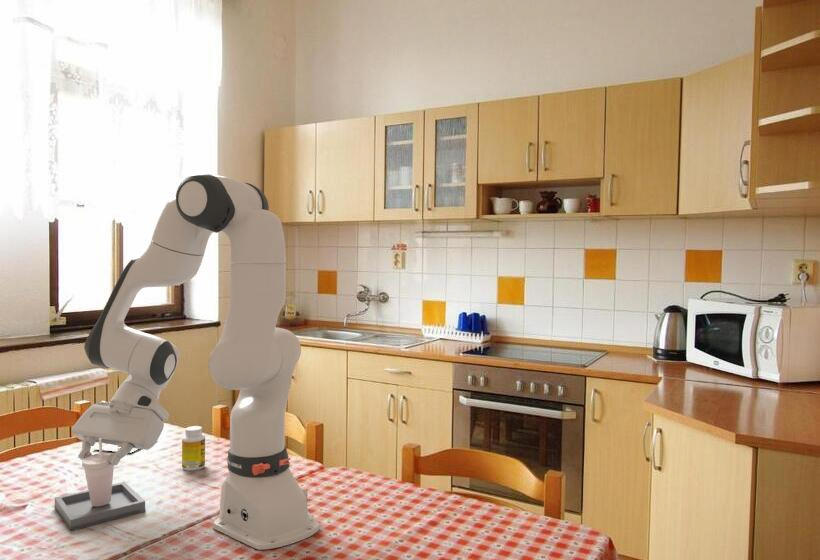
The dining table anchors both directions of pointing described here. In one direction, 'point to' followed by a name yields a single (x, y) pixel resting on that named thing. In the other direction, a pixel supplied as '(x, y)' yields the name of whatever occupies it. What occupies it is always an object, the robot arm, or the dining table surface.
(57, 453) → the dining table surface
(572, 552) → the dining table surface
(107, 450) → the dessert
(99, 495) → the smoothie
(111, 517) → the tray
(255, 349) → the robot arm
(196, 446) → the supplement bottle
